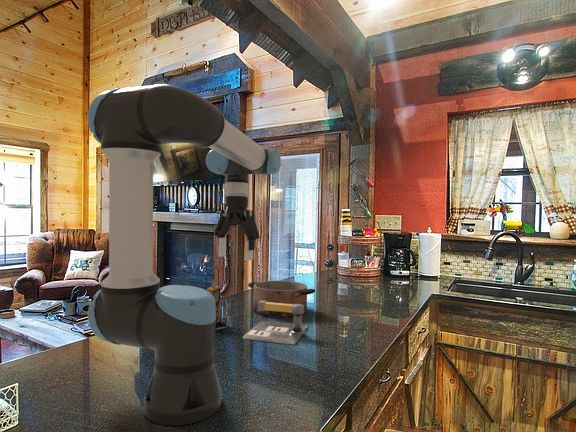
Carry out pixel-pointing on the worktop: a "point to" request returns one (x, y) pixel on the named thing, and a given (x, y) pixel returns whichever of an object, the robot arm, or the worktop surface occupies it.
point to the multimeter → (216, 298)
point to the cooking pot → (280, 295)
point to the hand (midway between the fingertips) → (235, 258)
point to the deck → (288, 338)
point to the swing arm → (281, 307)
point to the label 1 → (259, 333)
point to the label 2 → (277, 329)
